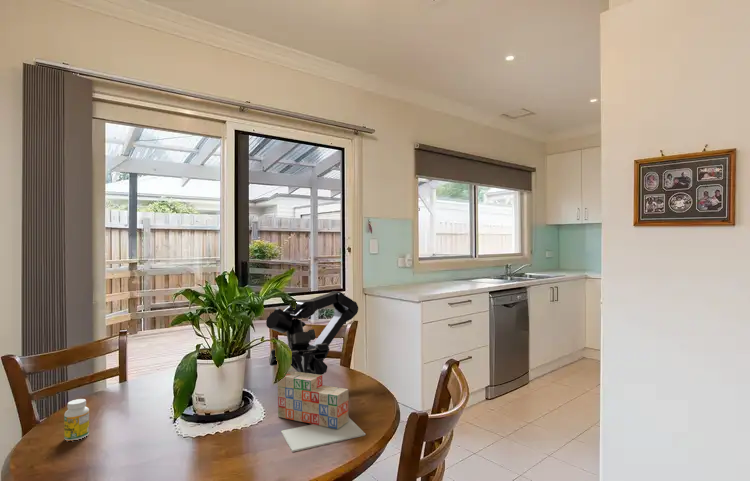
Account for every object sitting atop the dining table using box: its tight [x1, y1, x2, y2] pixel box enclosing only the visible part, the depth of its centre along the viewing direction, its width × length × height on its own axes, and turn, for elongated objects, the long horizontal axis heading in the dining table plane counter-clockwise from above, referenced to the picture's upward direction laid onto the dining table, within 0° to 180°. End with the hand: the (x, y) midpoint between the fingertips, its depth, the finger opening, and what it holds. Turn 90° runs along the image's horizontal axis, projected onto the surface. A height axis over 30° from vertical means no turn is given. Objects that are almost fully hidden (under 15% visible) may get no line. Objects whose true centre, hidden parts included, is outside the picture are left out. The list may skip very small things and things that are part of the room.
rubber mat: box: [280, 416, 367, 453], centre depth 109 cm, size 12×20×1 cm, turn 116°
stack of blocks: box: [277, 370, 350, 429], centre depth 118 cm, size 21×6×12 cm, turn 62°
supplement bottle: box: [63, 398, 90, 441], centre depth 108 cm, size 5×5×10 cm
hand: (304, 378), depth 125 cm, fingers closed
